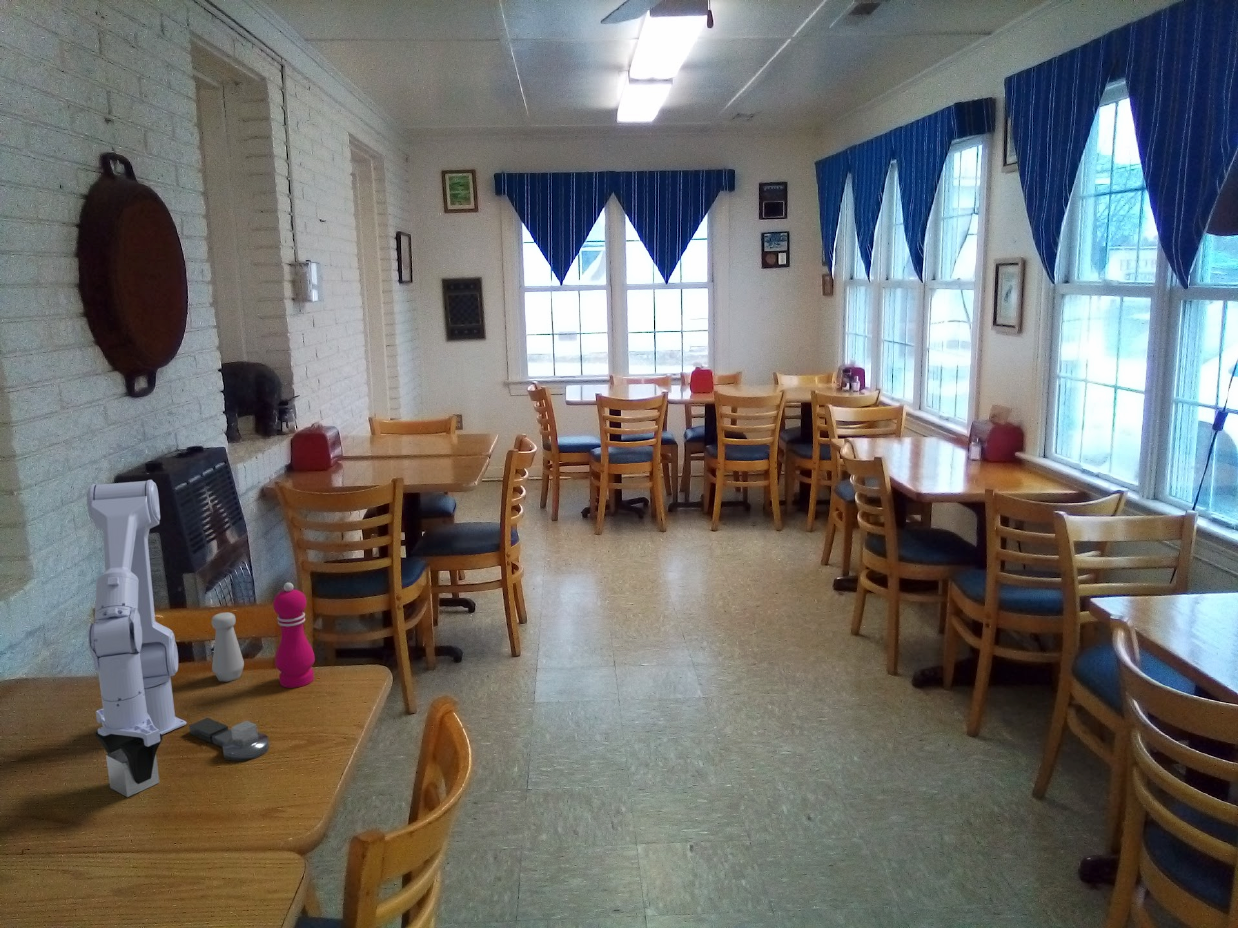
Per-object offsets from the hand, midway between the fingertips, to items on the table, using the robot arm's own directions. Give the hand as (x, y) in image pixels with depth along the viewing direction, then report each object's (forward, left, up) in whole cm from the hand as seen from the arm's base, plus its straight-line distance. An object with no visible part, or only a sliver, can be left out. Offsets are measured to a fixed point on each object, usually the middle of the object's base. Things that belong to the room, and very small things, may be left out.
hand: (133, 775), depth 142 cm
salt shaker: (-24, +32, -2) cm, 40 cm away
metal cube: (0, 0, -2) cm, 2 cm away
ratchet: (0, +16, -2) cm, 16 cm away
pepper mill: (-11, +38, -2) cm, 40 cm away
